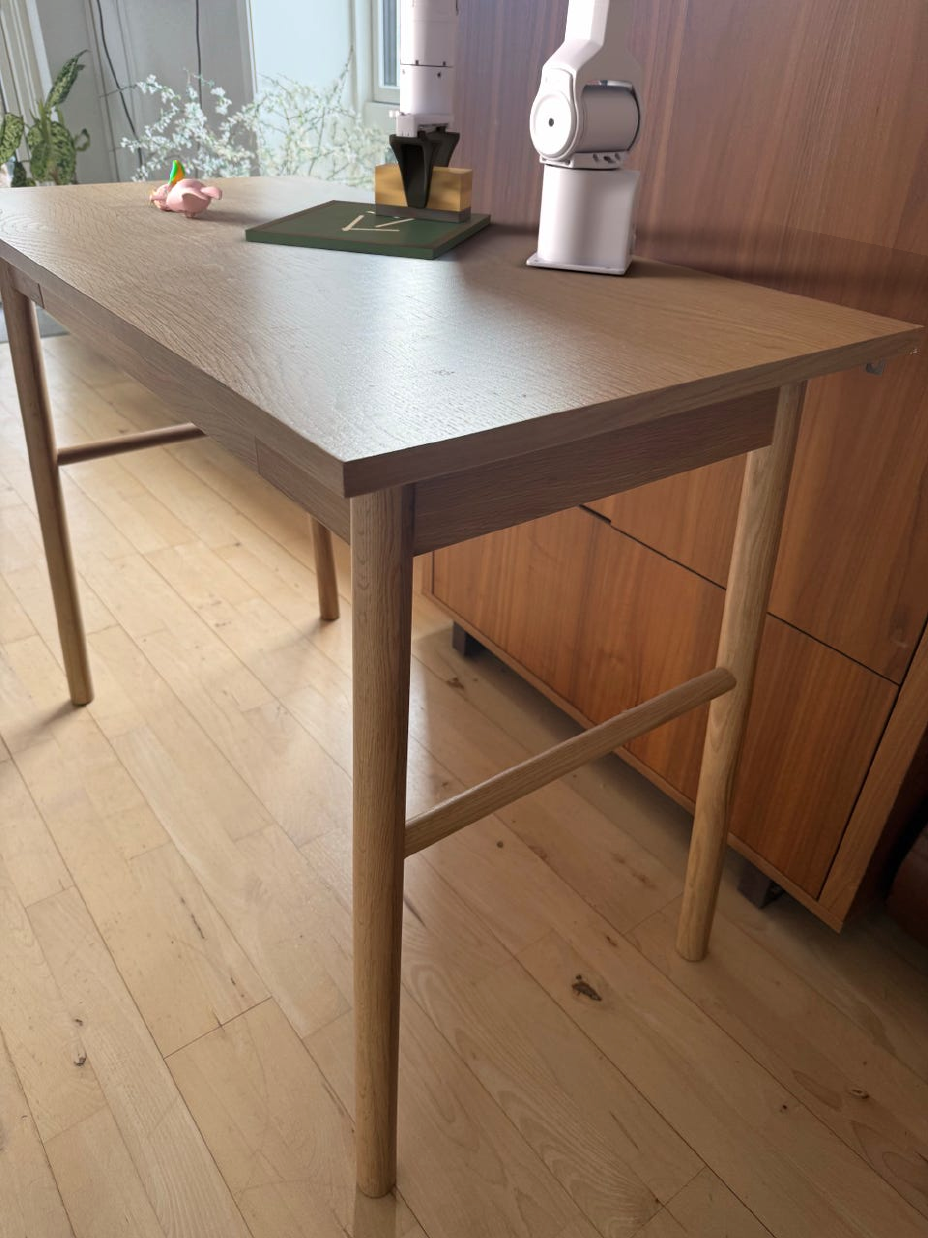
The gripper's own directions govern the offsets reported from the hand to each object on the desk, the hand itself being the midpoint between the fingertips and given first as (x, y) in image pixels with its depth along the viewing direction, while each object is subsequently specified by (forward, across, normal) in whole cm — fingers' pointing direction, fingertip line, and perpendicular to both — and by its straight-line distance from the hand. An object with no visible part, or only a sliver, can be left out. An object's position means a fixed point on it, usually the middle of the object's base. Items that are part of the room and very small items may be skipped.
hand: (424, 203), depth 106 cm
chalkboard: (+2, +6, -3) cm, 8 cm away
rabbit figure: (+2, +8, -25) cm, 27 cm away
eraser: (+1, 0, 0) cm, 1 cm away
